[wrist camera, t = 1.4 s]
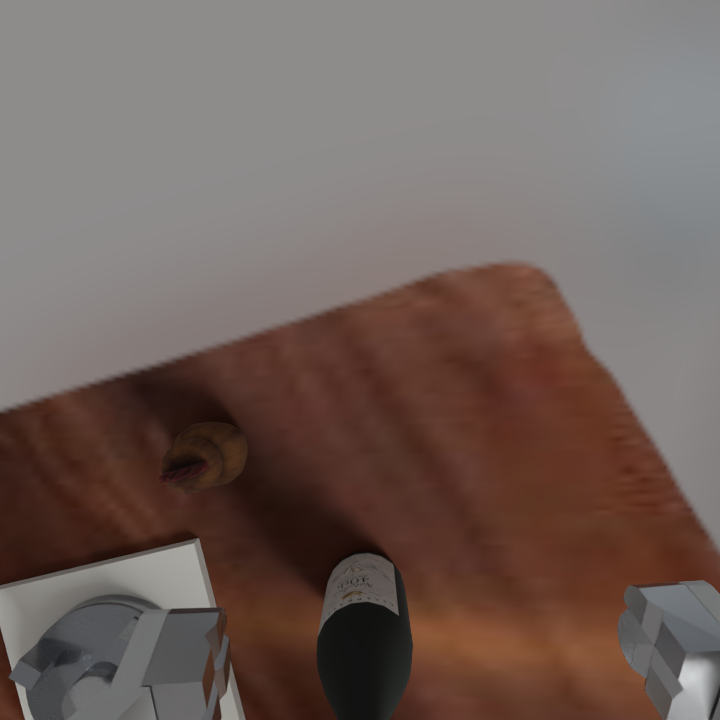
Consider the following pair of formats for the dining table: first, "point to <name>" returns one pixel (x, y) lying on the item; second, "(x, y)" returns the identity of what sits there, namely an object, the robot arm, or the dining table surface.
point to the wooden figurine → (204, 457)
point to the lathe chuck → (78, 655)
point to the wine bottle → (364, 638)
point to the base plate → (109, 577)
